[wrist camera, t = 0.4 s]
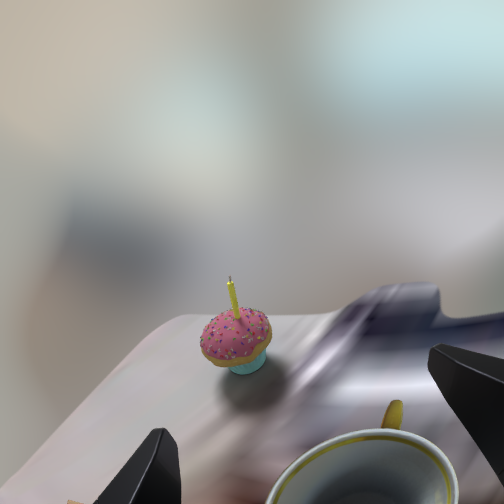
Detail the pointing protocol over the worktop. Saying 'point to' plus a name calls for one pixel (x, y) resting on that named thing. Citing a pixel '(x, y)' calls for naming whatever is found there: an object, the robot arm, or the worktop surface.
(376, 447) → the ceramic cup
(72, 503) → the block
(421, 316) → the worktop surface
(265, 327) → the cupcake
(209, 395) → the worktop surface
